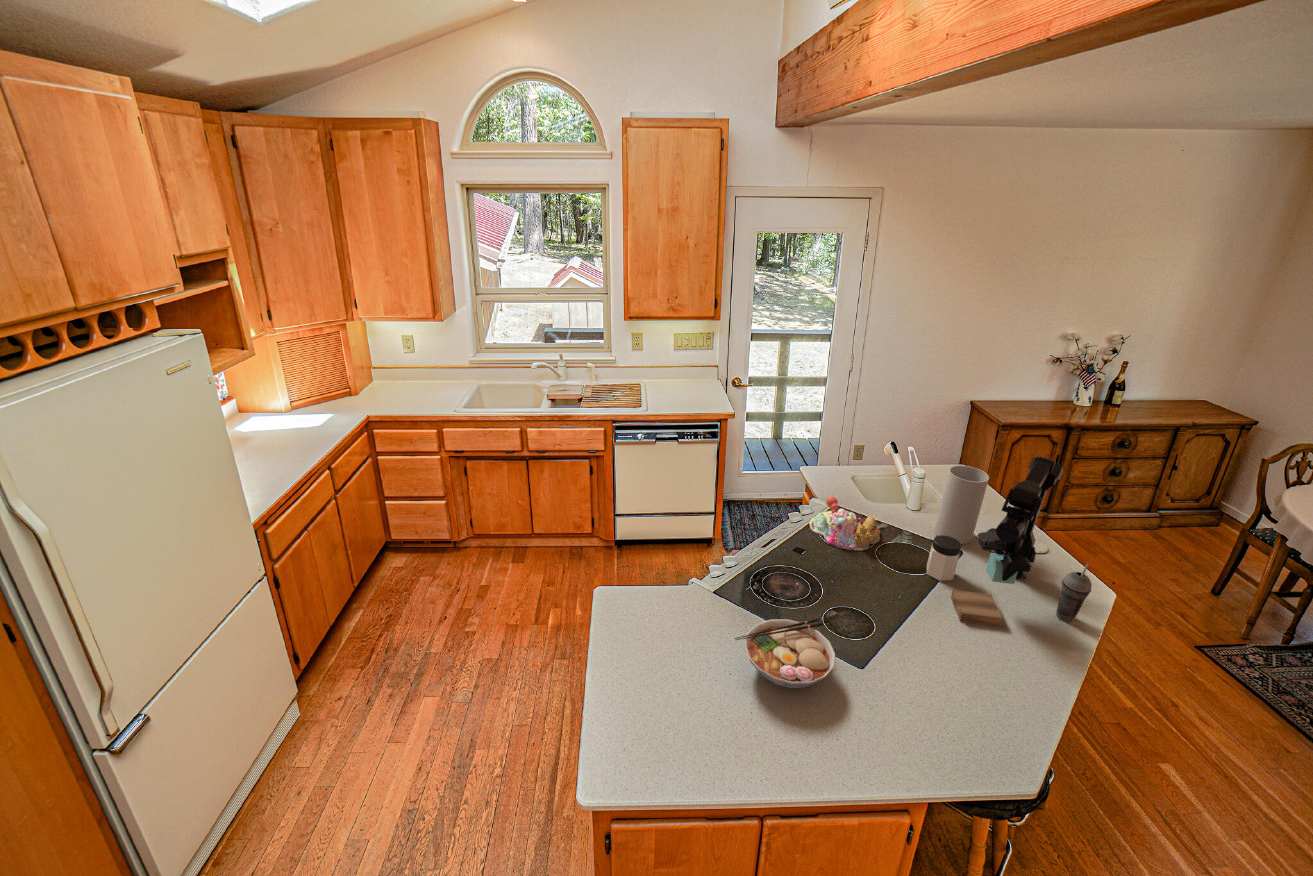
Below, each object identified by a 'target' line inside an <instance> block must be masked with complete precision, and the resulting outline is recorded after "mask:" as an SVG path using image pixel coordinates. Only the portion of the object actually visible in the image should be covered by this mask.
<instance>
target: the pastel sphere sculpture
mask: <svg viewBox="0 0 1313 876" xmlns="http://www.w3.org/2000/svg"><path fill="white" fill-rule="evenodd" d="M825 504H826V506H827V507H829V509H830V510H828V511H824V512H822V511H819V512H817V513H816V515H814V516H813V517H812V518H811V520H810V521H809V528H810V530H811V531H812V532H813V533H815V534H817V535H820V536H821V537H823V539H824V540H825V542H826V543H827V544H828V545H833V547H837V548H838V549H842V550H843V549H846V550H854V551H866V550H869V547H870V545H874V544H877V543H879V542H880V541H881V540H880V539H881V537H880V533H881V530H880V529H879V528H878V527H877V524H876V523H877V519H875V518H874V517H873V516H870V515H868V516H867V517H866V518H860V517H858V516H857V515H856V514H855V513H854V512H852V511H848V510H845V509H844V508H839V507H840V506H839V504H838V499H837V497H835V496H829V497H827V499H826V501H825Z"/></svg>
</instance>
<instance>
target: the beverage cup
mask: <svg viewBox="0 0 1313 876" xmlns="http://www.w3.org/2000/svg"><path fill="white" fill-rule="evenodd" d="M1089 565H1090V563H1088V562H1087V563H1086V564H1085V566H1084V568H1083V571H1082V572H1081V571H1072V572H1069V573H1067V574H1065V576H1064V577H1063V579H1062V580H1061V589H1060V596H1059V599H1058V604H1057V606H1056V607H1057V608H1056V613H1055V617H1056V618H1057V619H1059V620H1060V621H1062V622H1065V623H1073V622H1074V620H1075V619H1076V618H1077V616H1078V614H1079V612H1080V610H1081V608H1082V606H1083V604H1084V602H1085V600H1086V599H1087V597H1088V596H1089V594H1090V593H1091V592H1092V581H1091V579H1090V577H1089V576H1088V575H1087V574H1085V573H1086V571H1087V568H1088V567H1089Z"/></svg>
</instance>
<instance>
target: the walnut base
mask: <svg viewBox="0 0 1313 876" xmlns="http://www.w3.org/2000/svg"><path fill="white" fill-rule="evenodd" d="M950 600H951V602H952V605H953V607H954V610H955V612H956V615H957V618H958V620H959V622H961V623H962V622H963V623H970V624H975V625H976V624H979V625H985V626H992V627H993V626H994V627H1001V626H1002V622H1003V619H1004V618H1003V616H1002V614H1001V611H1000V609H999V608H998V605H997V604H996V602H995V600H994V597H993V595H992V594H990V593H983V592H982V593H981V592H974V591H967V590H958V589H952V592H951V595H950Z"/></svg>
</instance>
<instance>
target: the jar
mask: <svg viewBox="0 0 1313 876" xmlns="http://www.w3.org/2000/svg"><path fill="white" fill-rule="evenodd" d="M961 549H962V544H961V543H960V542H959V541H958V540H956V539H954V538H952V537H949V536H944V535H940V536H937V535H936V536H934V538H933V541H932V543H931V547H930V551H929V555H928V559H927V562H926V574H927V575H928V576H930V577H931V578H933V579H935V580H938V581H940V582H944V581H952V580H954V577H955V573H956V569H957V566H958V563H959V559H960V552H961Z"/></svg>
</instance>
